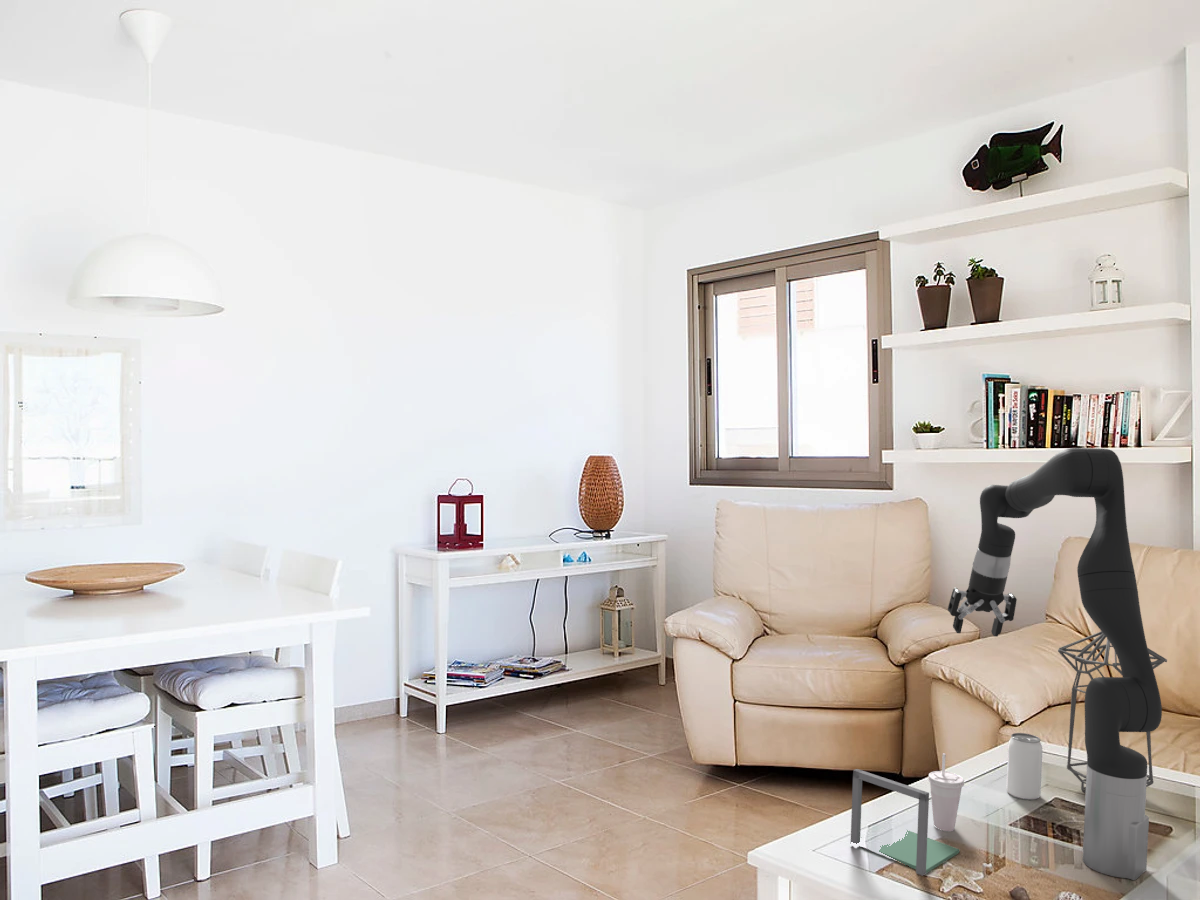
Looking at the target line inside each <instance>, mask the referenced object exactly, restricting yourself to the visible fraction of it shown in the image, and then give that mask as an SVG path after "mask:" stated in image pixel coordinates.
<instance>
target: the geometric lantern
mask: <svg viewBox="0 0 1200 900" xmlns="http://www.w3.org/2000/svg"><path fill="white" fill-rule="evenodd" d="M1093 638H1095V639H1093ZM1091 639H1093V640H1092V641H1091V642H1089V643H1088V644H1086V645H1085V646H1084V647H1083V648H1081V649H1076V648H1070V647H1073V646H1075V645H1078V644H1080V643H1082V642H1086V641H1088V640H1091ZM1105 640H1106V643H1105V644H1103V642H1104V641H1105ZM1102 644H1103V645H1102ZM1093 646H1094V647H1093ZM1092 647H1093V649H1092V650H1091V648H1092ZM1111 648H1113V646H1112V645H1111V643H1110V642H1109V640H1108V639H1107V637H1106V636H1105V635H1104V634H1103V632H1102V631H1101V630H1100V631H1098V632H1097V633H1094V634H1091V635H1089V636H1086V637H1084V638H1080V639H1078V640H1076V641H1073V642H1071V643H1069V644H1065V645H1063V646H1061V647H1059V648H1058V650H1057V652H1058V653H1059V654H1060V655H1061V657H1063V659H1064V660H1065V661H1066V662H1067V663H1068V664H1069V665H1070V666H1071V668H1072V669H1073V670H1074V671H1075V673H1076V674H1075V679H1074V681H1073V685H1072V688H1071V697H1070V699H1071V700H1070V712H1069V713H1070V714H1069V715H1070V717H1069V729H1068V730H1069V732H1068V750H1067V751H1068V754H1067V763H1066V764H1067V765H1066V769H1067V771H1069V772H1071V773H1072V774H1073V775H1074V776H1075V777H1076V779H1078V780H1079V782H1081V784H1080V790H1081V792H1082V793H1085V794H1086V786H1084V785H1086V775H1085V774H1083V773H1082V772H1079V771H1078V770H1076V769H1074V768H1073V767H1077V766H1078V767H1079V766H1085V765H1086V766H1087V761H1082V762H1075V763H1074V762H1073V763H1071V759H1072V757H1071V756H1072V748H1073V738H1074V729H1075V728H1074V726H1075V720H1076V719H1075V716H1076V707H1077V696H1078V695H1077V694H1078V692H1081V693H1083V694H1085V693H1086V690H1082V689H1079V688H1087V686H1088V684H1082V685H1079V683H1080V679H1081V675H1082V674H1083V675H1084V674H1085V675H1088V677H1089V678H1090V681H1091V680H1092V679H1094V677H1093V675H1092V674H1091V673H1093V672H1095V671H1097V672H1098V673H1099V674H1100V676H1101V677H1105V676H1104V675H1103V673H1102V672H1101V671H1100V669H1101V668H1102V667H1104V666H1110V667H1113V668H1114V669H1115V670H1116V671H1117V672H1118V673H1119V674H1120V675H1121V676H1122V671H1121V668H1119V667H1120V663H1119V662H1118V657H1117V654H1116V652H1115V651H1114V662H1112V664H1111V663H1109V658H1110V657H1109V656H1110V650H1111ZM1147 648H1148V652H1149V656H1150V659H1151V660H1155V661H1151V663H1152V667H1153V670H1154V669H1156V668H1158V667H1159V666H1160V665H1162V664H1164V663H1167V662H1168V659H1167V658H1165V657H1164V656H1162V655H1160V654H1159V653H1157V652H1155V651H1154V650H1152V649H1151V648H1149V647H1147ZM1097 650H1100V651H1099V652H1098V653H1097ZM1104 651H1105V652H1104ZM1071 652H1074V653H1071ZM1103 652H1104V658H1103V661H1097V660H1098V659H1099V658H1100V657H1101V655H1102V654H1103ZM1075 653H1079V654H1077V655H1076V654H1075ZM1086 654H1089V655H1087V657H1086V658H1084V655H1086ZM1066 655H1067V656H1069V657H1070V658H1072V659H1073V660H1074V663H1073V662H1072V661H1071V660H1070V659H1069V658H1068V657H1067V656H1066ZM1091 657H1092V660H1090V659H1091ZM1078 663H1080V665H1078ZM1074 664H1075V665H1074ZM1087 665H1093V666H1094V667H1092V668H1090V669H1088V668H1087ZM1118 666H1119V667H1118ZM1083 667H1084V670H1083ZM1145 734H1146V745H1147V758H1148V774H1147V784H1146V788H1147V787H1150V786H1152V785H1153V784H1154V775H1153V764H1152V763H1153V762H1152V738H1151V737H1152V736H1151V732H1145ZM1081 777H1082V778H1084V779H1082V778H1081Z"/></svg>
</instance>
